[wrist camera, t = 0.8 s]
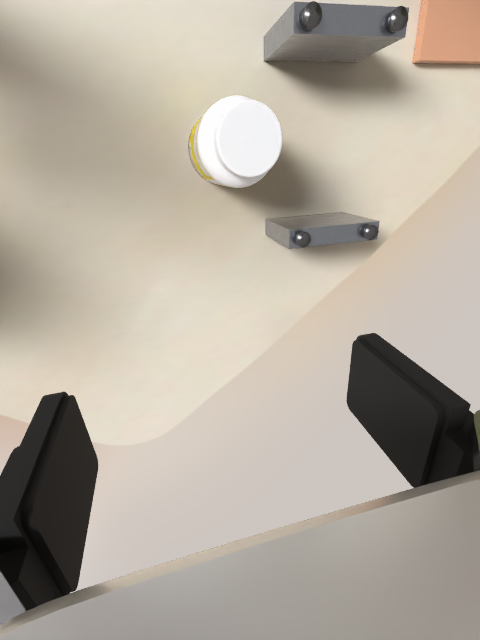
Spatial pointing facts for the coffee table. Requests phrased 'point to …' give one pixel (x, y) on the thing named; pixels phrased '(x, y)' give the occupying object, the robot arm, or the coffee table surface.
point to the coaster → (448, 32)
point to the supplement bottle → (235, 142)
